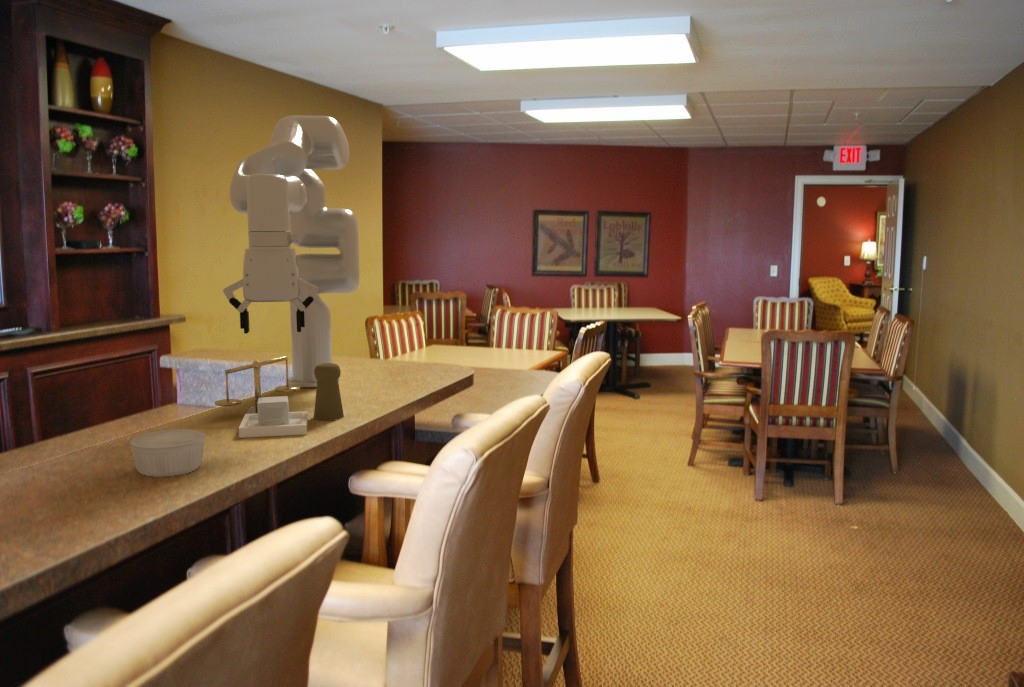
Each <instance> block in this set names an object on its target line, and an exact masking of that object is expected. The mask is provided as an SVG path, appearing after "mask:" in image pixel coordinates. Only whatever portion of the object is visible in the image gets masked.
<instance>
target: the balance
mask: <svg viewBox="0 0 1024 687" xmlns="http://www.w3.org/2000/svg"><path fill="white" fill-rule="evenodd" d="M288 360H289V358H288V356H287V355H285V356H280V357H276V358H272V359H267V360H263V361H260V360H254V361H252V363H251V364H246V365H243V366H237V367H234V368H229V369H226V370H224V372H225V391H226V392H225V393H226V394H225V396H226V399H224V398H223V399H218V400H216V401H214V405H215V406H218V407H231V406H237V405H240V404H241V403H242V401H241V399H238V398H237V399H236V398H229V396H230V395H229V376H228V375H229V374H234V373H237V372H240V371H245V370H249V369H250V370H251V369H253V379H254V380H253V382H254V406H249V408H248V410H247V412H246V414H254V413H258V408H257V403H258V399H259V398H262V390H261V389H262V388H261V387H262V386H261V368H262V366H266V365H271V364H276V363H280V362H284V361H285V377H286V378H285V379H286V380H285V382H286V385H280V386H276V387H275V388H274V391H275V392H279V393H280V392H281V393H291V392H298V391H301V387H300V386H295V385H289V383H288V378H289V361H288Z"/></svg>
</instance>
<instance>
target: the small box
mask: <svg viewBox="0 0 1024 687" xmlns="http://www.w3.org/2000/svg"><path fill="white" fill-rule="evenodd" d="M257 408H258V425H259V426H270V425H289V412H290V407H289V397H288V395H284V396H282V395H281V396H265V397H263V396H261V398H259V399H258V403H257Z"/></svg>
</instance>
